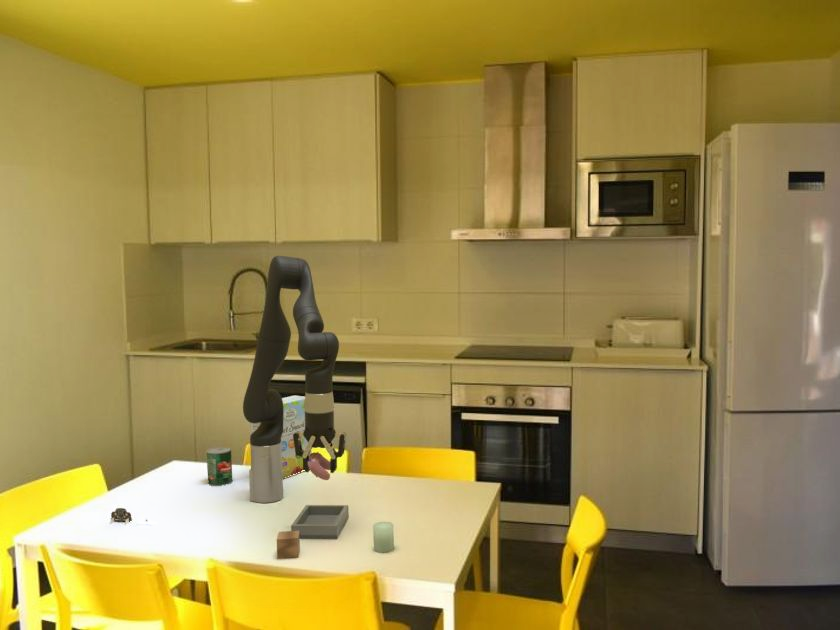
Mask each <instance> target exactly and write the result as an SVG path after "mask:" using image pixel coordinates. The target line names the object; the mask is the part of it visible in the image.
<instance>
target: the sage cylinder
mask: <svg viewBox="0 0 840 630" xmlns="http://www.w3.org/2000/svg"><path fill="white" fill-rule="evenodd" d="M372 531H373V532H372V533H373V534H372V535H373V536H372V539H373V551H374V552H376V553H379V554H386V553H391V552H393V551H394V550H395V540H394V537H395V536H394V531H395V530H394V524H393V523H392V522H390V521H379V522H375V523H374V524H373V525H372Z"/></svg>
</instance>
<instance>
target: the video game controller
mask: <svg viewBox="0 0 840 630" xmlns="http://www.w3.org/2000/svg"><path fill="white" fill-rule="evenodd" d="M308 466H309V469H310V471H309V472H311V473H312V475H314V476H315V477H316V478H319V479H321V480H324V481H328V480H330V478H331V475H330V474H331V473H330V472H329V471H330V460H328V459H327V458H326V457H325V456H323V455H322V453H321V452H319V451H317V452H311V454H310V455H309V461H308Z"/></svg>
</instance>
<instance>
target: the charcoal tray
mask: <svg viewBox="0 0 840 630" xmlns="http://www.w3.org/2000/svg"><path fill="white" fill-rule="evenodd" d="M349 510H350V509H349V504H306V505H305V506H304V507H303V509H302V510H301V512H300V513H299V514H298V515H297V516H296V518H295V520H294V521H293V522H292V523H291V525H290V529H291V530H290V531H299V539H301V540H304V539H306V540H338V539H339V536H340V535H341V533H342V532H343V530H344V527H345V525H346V523H347V521H348V520H349V518H350V517H349V516H350V515H349V513H350V512H349Z"/></svg>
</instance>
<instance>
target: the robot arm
mask: <svg viewBox="0 0 840 630" xmlns="http://www.w3.org/2000/svg"><path fill="white" fill-rule="evenodd" d="M266 280H267V281H266V282H267V283H266V291H265V300H264V307H263V311H262V312H263V313H262V318H261V323H260V327H259V333H258V336H257V341H256V350H255V354H254V360H253V364H252V369H251V373H250V377H249V381H248V383H247V384H248V385H247V387H246V391H245V393H244V397H243V403H242V413H243V416H244V419H245V420H246V421H247V422H248V423H249V424H250V423H260V422H261V423H260V425H259V427H258V428H257V429H256V430H255V431H254V432H253V433H252V434H251V436H249V444H250V469H249V471H248V472H249V473H248V474H249V475H248V476H249V477H248V479H249V496H250V501H249V502H254V503H262V504H265V503H266V504H267V503H269V504H270V503H274V502H279V501H280V500H282V499H283V498H284V479H283V474H282V449H281V436H282V433H283V401H282V398H283V397H282V395H281V394H280V392H278V390H276V389H273V388H270V389H269V387H270V383H271V381H272V379H273V378H274V376H275V374H276V373H277V371H278V370H279V369H280V367H281V366H282V364H283V362H284V361H285V359H286V357H287V355H288V352H289V347H290V343H291V342H290V341H291V338H292V337H291V336H292V332H291V327H290V325H289V322H288V320H287V316H286V315H285V313H284V310H283V307H282V305H281V290H282V289H283V290H284V289H286V290H297V291H299V292H300V294H299V296H298V297H297V298H296V300H295V302H294V304H293V307H292V308H293V309H292V317H293V319H294V323H295V326H296V329H297V333H298V343H297V352H298V355H299V357H300V358H301V359H303V360H304V361H319V360H321V361H322V362H321V363H320V365H319V366H316V367H314V368H311V369H308V370H307V371H306V372H305V374H304V375H305V376H304V378H305V379H304V380H305V381H304V384H305V385H304V389H305V394H304V397H305V430H304V432H299V431H297V432H295V433H294V434H293V440H294V446H295V453H296V455H297V456H301V457H302V458H303V469H304V470H305V471H304V472H305V473H309V472H311V471H310V469H309V466H308V461H309V454H310V451H311V452H312V450H313V448H314V449H316V448H320V449H325V451H326V452H327V453H328V455H329V457H330V459H329V461H330V470H329V471H330V472H329V474H334V473H335V471H337V468H338V458H342V457H343V455H344V454H345V449H346V442H347V441H346V440H347V433H346V432H336V429H335V401H334V393H333V375H334V374H333V373H334V369H335V365H336V362H337V358H338V355H339V349H340V342H339V338H338V336H337V335H336V334H335V333H333V332H330V331H329V332H327V331H326V332H323V331H324V330H325V323H324V320H323V317H322V315H321V312H320V310H319V307H318V304H317V300H316V295H315V288H314V283H313V278H312V271H311V268H310V265H309V263H308V261H307V260H306V259H304V258H301V257H300V258H299V257H293V256H292V257H291V256H284V255H274V257H273V258H272V259H271V260H270V263H269V268H268V274H267V279H266ZM303 436H304V437H305V439H306V440H307V441H308V444H307V446H306V448H305V451H303V450H302V444H301V440H302V438H303ZM335 438H336V441H337V442H338V449H337V450H336V448H335V445H334V443H333V440H334V439H335Z"/></svg>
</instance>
